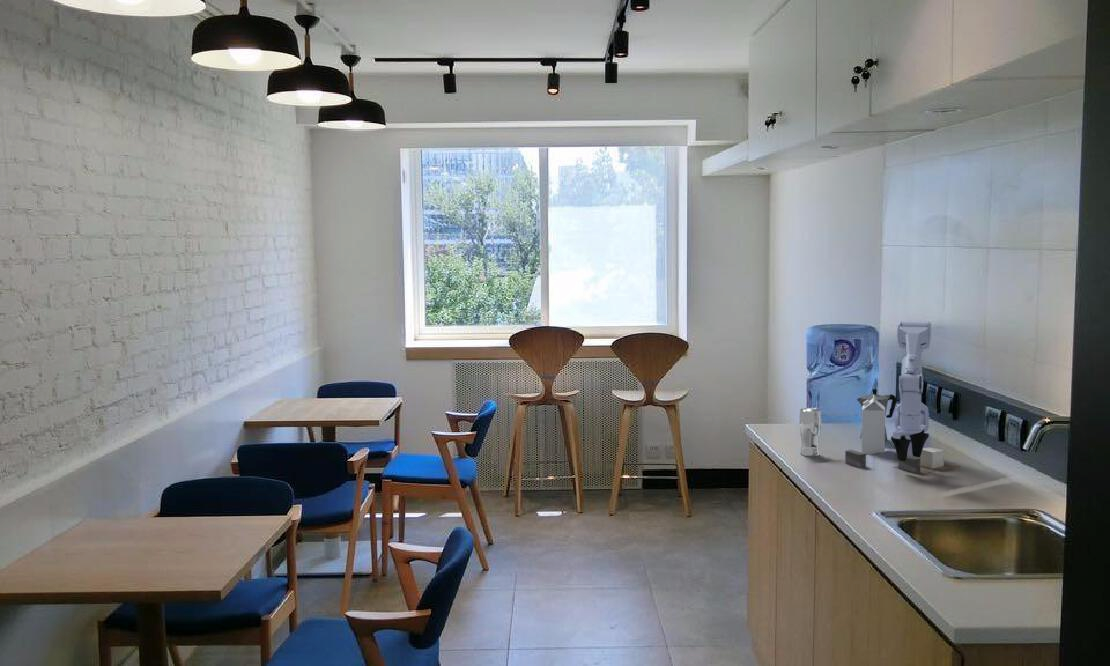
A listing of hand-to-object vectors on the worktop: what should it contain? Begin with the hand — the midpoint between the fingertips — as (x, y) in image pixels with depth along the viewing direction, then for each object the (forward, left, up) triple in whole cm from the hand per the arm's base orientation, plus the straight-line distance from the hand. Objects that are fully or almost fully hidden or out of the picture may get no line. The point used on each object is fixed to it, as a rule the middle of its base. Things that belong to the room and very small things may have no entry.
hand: (909, 458), depth 268 cm
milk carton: (-11, -24, -5) cm, 27 cm away
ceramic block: (-9, 0, -3) cm, 10 cm away
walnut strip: (-7, 0, -5) cm, 9 cm away
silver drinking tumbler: (+7, -34, -5) cm, 35 cm away
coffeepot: (-28, -38, -5) cm, 47 cm away
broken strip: (+1, -13, -5) cm, 14 cm away
